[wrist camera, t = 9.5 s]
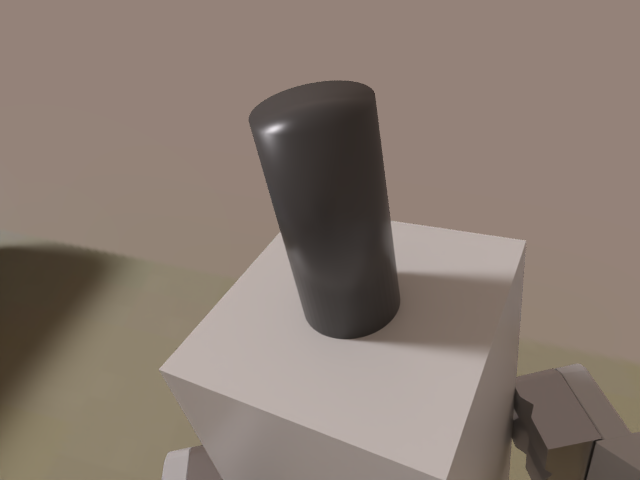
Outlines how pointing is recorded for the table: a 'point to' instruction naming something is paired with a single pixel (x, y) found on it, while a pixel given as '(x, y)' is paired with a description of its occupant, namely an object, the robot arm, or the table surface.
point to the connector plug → (353, 321)
